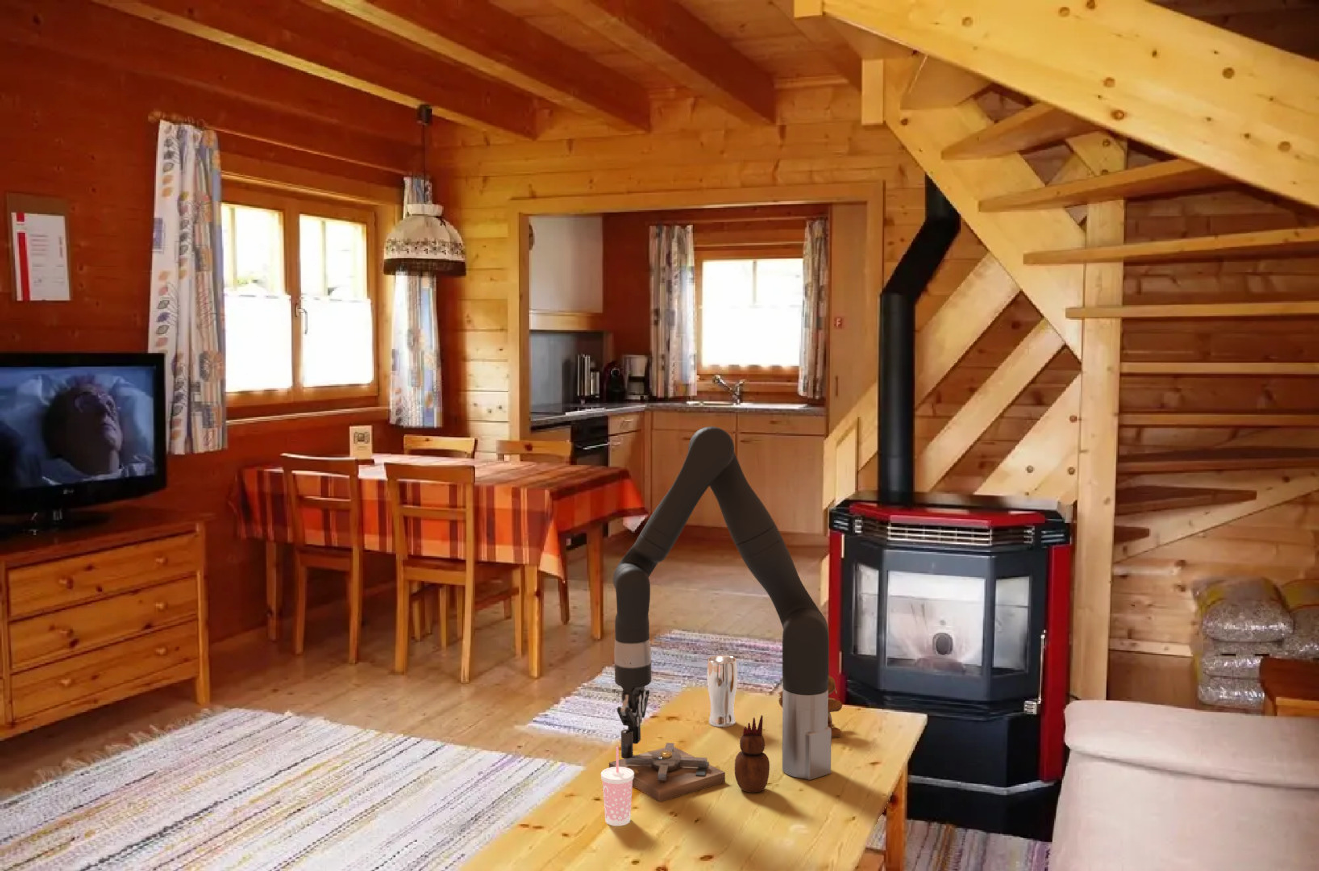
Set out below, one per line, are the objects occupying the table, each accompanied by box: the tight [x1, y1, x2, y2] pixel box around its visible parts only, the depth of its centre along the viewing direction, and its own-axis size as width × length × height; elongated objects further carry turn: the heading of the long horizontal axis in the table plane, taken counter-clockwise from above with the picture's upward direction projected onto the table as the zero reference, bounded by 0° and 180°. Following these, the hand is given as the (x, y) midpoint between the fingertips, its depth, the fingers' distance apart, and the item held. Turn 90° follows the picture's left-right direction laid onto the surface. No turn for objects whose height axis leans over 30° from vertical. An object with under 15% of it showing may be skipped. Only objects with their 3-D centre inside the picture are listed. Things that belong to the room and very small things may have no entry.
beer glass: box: [706, 654, 738, 728], centre depth 251 cm, size 7×7×15 cm
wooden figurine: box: [734, 715, 771, 794], centre depth 213 cm, size 7×6×15 cm
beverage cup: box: [600, 745, 634, 827], centre depth 200 cm, size 6×6×14 cm
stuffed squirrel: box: [778, 675, 843, 738], centre depth 246 cm, size 10×14×13 cm
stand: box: [608, 746, 726, 803], centre depth 220 cm, size 18×16×2 cm
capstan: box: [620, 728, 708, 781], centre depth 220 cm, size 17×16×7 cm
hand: (634, 742), depth 224 cm, fingers closed
